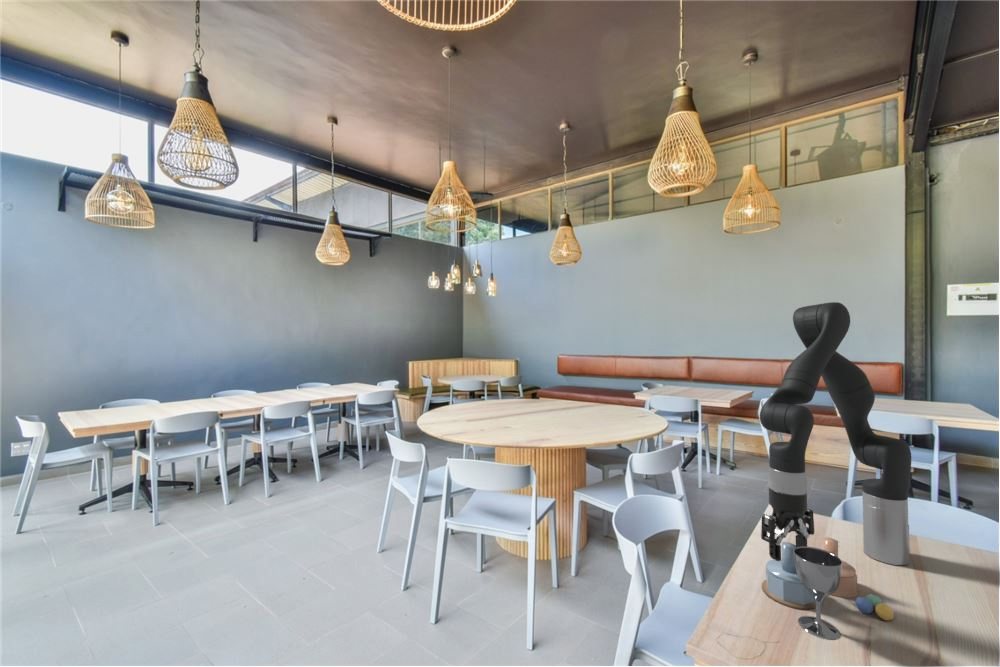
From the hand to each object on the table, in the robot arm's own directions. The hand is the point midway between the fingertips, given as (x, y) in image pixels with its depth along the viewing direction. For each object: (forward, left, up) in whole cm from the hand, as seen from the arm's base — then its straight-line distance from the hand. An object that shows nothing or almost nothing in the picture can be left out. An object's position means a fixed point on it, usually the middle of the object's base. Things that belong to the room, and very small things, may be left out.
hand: (788, 555), depth 98 cm
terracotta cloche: (-13, +1, -9) cm, 16 cm away
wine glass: (+5, +10, -9) cm, 15 cm away
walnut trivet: (0, 0, -9) cm, 9 cm away
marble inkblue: (-9, +10, -9) cm, 16 cm away
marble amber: (-11, +13, -9) cm, 19 cm away
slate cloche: (0, 0, -8) cm, 9 cm away
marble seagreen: (-13, +10, -9) cm, 18 cm away
